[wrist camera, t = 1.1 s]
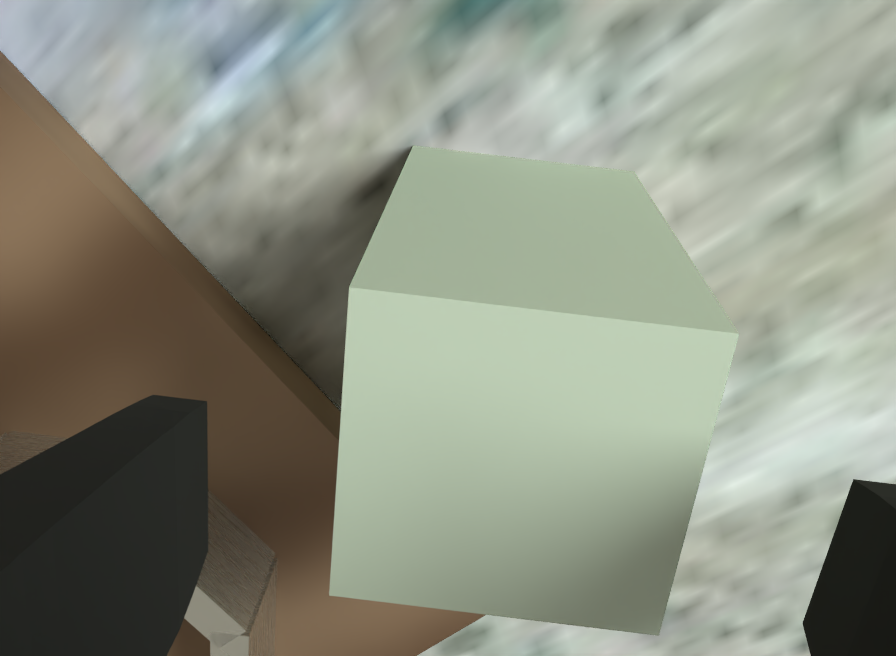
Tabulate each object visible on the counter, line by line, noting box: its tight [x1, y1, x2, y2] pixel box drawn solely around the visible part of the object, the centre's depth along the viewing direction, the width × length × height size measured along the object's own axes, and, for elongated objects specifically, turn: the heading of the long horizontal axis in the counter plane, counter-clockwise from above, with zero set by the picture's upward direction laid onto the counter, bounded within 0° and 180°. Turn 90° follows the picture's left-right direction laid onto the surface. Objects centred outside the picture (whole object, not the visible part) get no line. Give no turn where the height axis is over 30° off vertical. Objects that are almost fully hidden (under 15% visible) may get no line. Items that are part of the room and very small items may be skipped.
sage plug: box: [329, 146, 739, 636], centre depth 14 cm, size 4×4×8 cm
